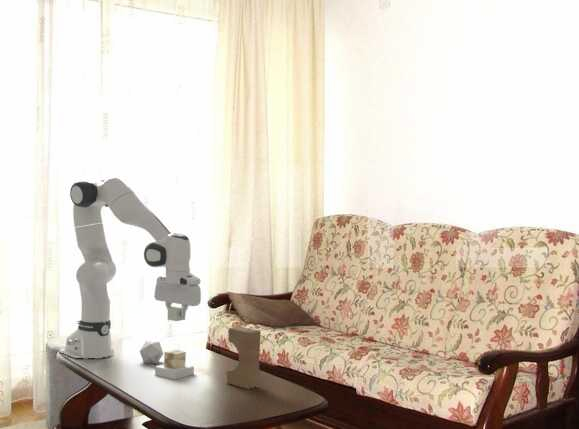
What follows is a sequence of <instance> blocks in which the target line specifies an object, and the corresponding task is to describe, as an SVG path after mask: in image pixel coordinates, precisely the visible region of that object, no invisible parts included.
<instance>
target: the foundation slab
mask: <svg viewBox="0 0 579 429" xmlns="http://www.w3.org/2000/svg"><path fill="white" fill-rule="evenodd" d="M154 368H155V372H154V374H155V376H160V377H164V378H167V379H170V380H171V379H172V380H179V379H182V378H185V377H189V376H192V375H195V366H194V365H190V364H186V363H185V367H181V368H177V369H173V368H168V367H164V363H163V364H159V365H156V366H155V367H154Z"/></svg>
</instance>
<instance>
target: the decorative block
mask: <svg viewBox="0 0 579 429" xmlns="http://www.w3.org/2000/svg"><path fill="white" fill-rule="evenodd" d="M227 339H228V340H227V341H228V342H229V343H232V345H233V346H234V347H235V349H236V351H237V353H238V363H237V364H236V366H235V367H234V368H230V369H228V370H227V371H226V383H227V384H228V385H232V386H236V387H238V386H239V388H243V389H245V388H246V389H245V390H251V389H250V388H252V389H254V388H253V387H256V386H258V387H259V382H260V381H259V379H260V378H259V377H260V376H259V375H260V355H261V354H260V353H261V351H260V350H261V330H257V329H253V328H249V327H243V326H234V327H228V338H227ZM256 388H257V387H256Z"/></svg>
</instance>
